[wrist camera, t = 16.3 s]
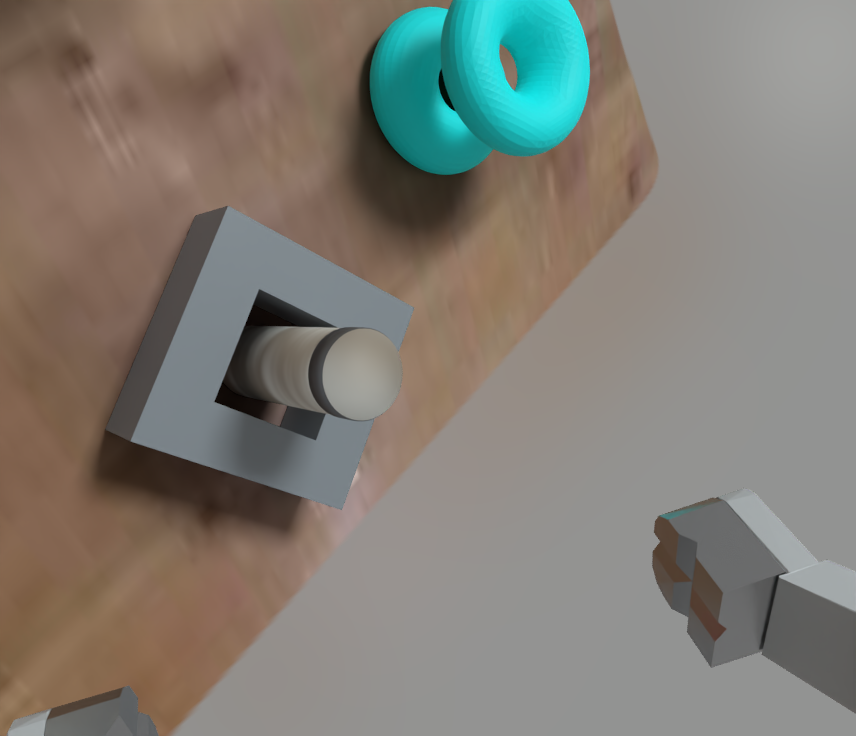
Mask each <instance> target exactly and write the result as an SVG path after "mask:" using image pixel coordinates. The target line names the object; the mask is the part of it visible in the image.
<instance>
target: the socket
mask: <svg viewBox="0 0 856 736" xmlns="http://www.w3.org/2000/svg"><path fill="white" fill-rule="evenodd" d="M253 305H255V306H257V307H259V308H261V309H263V310H266V311H268V312H270V313H272V314H274V315H276V316H278V317H280V318H282V319H284V320H287V321H289V322H291V323H293V324H295V325H297V326H299V327H325V328H344V327H365V328H372V329H375V330H377V331H380V332H381V333H383V334H384V335H386V336H387V337H388V338H389V339H390V340H391V341H392V343H393V344H394V345H395V347H396V349H397V351H398V352H399V349H400V346H401V343H402V341H403V338H404V335H405V332H406V330H407V327H408V324H409V321H410V318H411V316H412V313H413V310H414V307H412V306H410V305H408V304H406V303H405V302H403V301H401V300H399V299H397V298H396V297H394V296H392V295H390V294H388V293H386V292H385V291H383V290H381V289H379V288H377V287H375V286H374V285H372V284H370V283H368V282H366V281H364V280H363V279H361V278H359V277H357V276H355V275H354V274H352V273H350V272H348V271H346V270H344V269H343V268H341V267H339V266H337V265H335V264H333V263H332V262H330V261H328V260H326V259H324V258H322V257H321V256H319V255H317V254H315V253H313V252H312V251H310V250H308V249H306V248H304V247H302V246H301V245H299V244H297V243H295V242H293V241H291V240H290V239H288V238H286V237H284V236H282V235H280V234H279V233H277V232H275V231H273V230H271V229H270V228H268V227H266V226H264V225H262V224H260V223H259V222H257V221H255V220H253V219H251V218H249V217H248V216H246V215H244V214H242V213H240V212H238V211H237V210H235V209H233V208H231V207H229V206H226V207H223V208H219V209H216V210H213V211H209V212H206V213H203V214H199V215H196V216H195V218H194V220H193V223H192V225H191V228H190V230H189V232H188V235H187V237H186V239H185V242H184V244H183V247H182V249H181V251H180V254H179V256H178V258H177V261H176V263H175V265H174V268H173V270H172V273H171V275H170V277H169V280H168V282H167V284H166V287H165V289H164V292H163V294H162V296H161V299H160V301H159V303H158V306H157V308H156V310H155V313H154V315H153V318H152V320H151V322H150V325H149V327H148V329H147V332H146V334H145V337H144V339H143V341H142V344H141V346H140V348H139V351H138V353H137V355H136V358H135V360H134V363H133V365H132V367H131V370H130V372H129V374H128V377H127V379H126V382H125V384H124V386H123V389H122V391H121V393H120V396H119V398H118V400H117V403H116V405H115V408H114V410H113V412H112V415H111V417H110V419H109V422H108V424H107V426H106V429H105V430H107V431H109V432H111V433H114V434H116V435H118V436H120V437H122V438H124V439H126V440H128V441H131V442H134V443H137V444H140V445H143V446H146V447H149V448H152V449H155V450H158V451H162V452H165V453H168V454H171V455H174V456H177V457H180V458H183V459H186V460H189V461H192V462H195V463H199V464H202V465H205V466H208V467H211V468H214V469H217V470H220V471H223V472H226V473H229V474H232V475H236V476H239V477H242V478H245V479H248V480H251V481H254V482H257V483H260V484H263V485H266V486H269V487H273V488H276V489H279V490H282V491H285V492H288V493H291V494H294V495H297V496H300V497H303V498H306V499H310V500H313V501H316V502H319V503H322V504H325V505H328V506H331V507H334V508H337V509H340V510H342V508H343V505H344V503H345V500H346V497H347V494H348V491H349V489H350V486H351V483H352V480H353V478H354V475H355V472H356V469H357V466H358V464H359V461H360V458H361V455H362V452H363V450H364V447H365V444H366V441H367V438H368V436H369V433H370V430H371V427H372V424H373V422H374V419H375V418H374V419H372V420H368V421H352V420H347V419H343V418H338V417H335V416H332V415H329V414H325V413H320V412H315V411H311V410H306V409H301V408H296V407H292V406H288V407H287V410H286V413H285V415H284V418H283V421H282V423H281V426H280V427H279V426H276V425H274V424H271V423H268V422H266V421H263V420H260V419H258V418H255V417H252V416H250V415H247V414H245V413H242V412H239V411H237V410H234V409H231V408H229V407H226V406H223V405H221V404H218V403H216V402H214V401H215V399H216V396H217V394H218V391H219V388H220V386H221V383H222V381H223V378H224V376H225V373H226V371H227V368H228V366H229V363H230V361H231V358H232V356H233V353H234V351H235V348H236V346H237V343H238V341H239V338H240V336H241V333H242V331H243V328H244V326H245V323H246V321H247V318H248V316H249V313H250V311H251V308H252V306H253Z"/></svg>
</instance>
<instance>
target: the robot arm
mask: <svg viewBox="0 0 856 736" xmlns="http://www.w3.org/2000/svg"><path fill="white" fill-rule="evenodd" d="M654 533H655V535H656V536H657V537H658V539H659V540H660V543H659V544H658V545H657V547H656V548H655V550H654V551H653V561H652V564H653V565H652V566H653V570H654V574H655V578H656V581H657V584H658V586H659V588H660V590H661V592H662V594H663V596H664V597H665V599H666V601H667V602H668V604H669V605H670V607H671V609H673V610H675V611H677V612H679V613H681V614H683V615H685V616H687V617H688V627H687V633H688V634H689V635H690V637H691V639H692V640H693V642H694V643H695V645H696V646H697V647H698V649H699V650H700V652H701V653H702V655H703V656H704V658H705V659H706V661H707V662H708V663H709V665H710V667H711V668H712V667H715V666H718V665H721V664H724V663H727V662H730V661H733V660H737V659H739V658H743V657H746V656H749V655H752V654H755V653H758V652H761V651H762V655H763V656H765V657H767V658H768V659H770V660H771V661H773V662H775V663H776V664H778V665H779V666H781V667H783V668H784V669H786V670H787V671H789V672H790V673H792V674H794V675H795V676H797V677H799V678H800V679H802V680H803V681H805V682H806V683H808V684H809V685H811V686H813V687H814V688H816V689H817V690H819V691H821V692H822V693H824V694H825V695H827V696H829V697H830V698H832V699H833V700H835V701H837V702H838V703H840V704H841V705H843V706H845V707H846V708H848V709H849V710H851V711H852V712H854V713H856V572H855V571H853V570H851V569H848V568H846V567H844V566H841V565H839V564H836V563H834V562H832V561H829V560H825V561H822V562H818V561H817V560H816V558H815V557H814V556H813V555H812V554H811V553H810V552H809V551H808V550H807V549H806V548H805V547H804V545H803V544H802V543H801V542H800V541H799V540H798V539H797V538H796V537H795V536H794V535H793V534H792V533H791V531H790V530H789V529H788V528H787V527H786V526H785V525H784V524H783V523H782V522H781V521H780V520H779V519H778V517H777V516H776V515H775V514H774V513H773V512H772V511H771V510H770V509H769V508H768V507H767V506H766V505H765V503H763V501H762V500H761V499H760V498H759V497H758V496H757V495H756V494H755V493H754V492H753V491H751V490H749V489H747V488H745V489H741V490H737V491H734V492H731V493H728V494H725V495H722V496H719V497H717V498H710V499H708V500H705V501H701V502H698V503H695V504H692V505H689V506H686V507H683V508H680V509H678V510H674V511H671V512H668V513H665V514H663V515H660V516H658V518H657V519H656V521H655V527H654ZM7 736H158V733H157V730H156V727H155V725H154V723H153V721H152V720H151V718H150V716H149V715H146V714H143V713H140V712H138V698H137V696H136V695H135V693H134V692H133V691H132V689H131V688H130V686H126V687H123V688H119V689H116V690H112V691H109V692H106V693H102V694H99V695H95V696H92V697H89V698H85V699H82V700H78V701H75V702H72V703H68V704H65V705H61V706H58V707H55V708H51V709H48V710H44V711H41V712H38V713H35V714H32V715H28V716H25V717H22V718H19V719H16V720H14V721H13V723H12V725H11V727H10V729H9V731H8V733H7Z"/></svg>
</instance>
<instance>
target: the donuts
mask: <svg viewBox="0 0 856 736" xmlns="http://www.w3.org/2000/svg"><path fill="white" fill-rule="evenodd" d="M500 44H502V45H503V46H504V47H506V48H507V50H508V51H509V52H510V53H511V55H512V57H513V59H514V61H515V64H516V68H517V76H518V78H517V85H516V89H515V90H513V89H512V88H511V87H510V85H509V84H508V82H507V81H506V78H505V74H504V70H503V67H502V64H501V62H500V58H499V45H500ZM441 68H442V74H443V79H444V83H445V86H446V90H447V92H448V95H449V98H450V100H451V102H452V105H453V107H454V109H455V110H456V111H454V110H452V109H450V107H449V106H448V105H447V104H446V103H445V101H444V100H443V98H442V96H441V93H440V89H439V82H438V79H439V73H440V70H441ZM589 79H590V65H589V54H588V47H587V43H586V39H585V35H584V32H583V29H582V26H581V23H580V21H579V19H578V17H577V15H576V12H575V11H574V9H573V7H572V5H571V4H570V2H569V1H568V0H453V1H452V3H451V5H450V7H449V9H444V8H439V7H425V8H419V9H415V10H412V11H410V12H408V13H406V14H404V15H402V16H401V17H399V18H398V19H396V20H395V21H394V22H393V23H392V24H391V25H390V26H389V27H388V28H387V30H386V31H385V32H384V34H383V35H382V37H381V38H380V40H379V42H378V44H377V46H376V49H375V52H374V55H373V59H372V63H371V69H370V95H371V101H372V106H373V110H374V113H375V116H376V119H377V122H378V124H379V126H380V128H381V130H382V132H383V134H384V136H385V137H386V139H387V140H388V142H389V143H390V144H391V146H392V147H393V148H394V149H395V150H396V151H397V153H398V154H400V155H401V156H402V157H403V158H404V159H405V160H407V161H408V162H409V163H411V164H412V165H414V166H415V167H417V168H419V169H421V170H424V171H426V172H430V173H434V174H440V175H452V174H457V173H462V172H465V171H467V170H469V169H471V168H473V167H475V166H476V165H478V164H479V163H481V162H482V161H483V160H484V159H485V158H486V157H487V156H488V155H489V154H490V153H491V151H492V150H493V149H495V150H497V151H499V152H501V153H504V154H508V155H513V156H533V155H537V154H541V153H544V152H546V151H548V150H550V149H552V148H553V147H555V146H557V145H558V144H559V143H561V142H562V141H563V140H564V139H565V138H566V137H567V136H568V135H569V133H570V132H571V131H572V130H573V128H574V127H575V125H576V124H577V122H578V120H579V118H580V116H581V114H582V112H583V109H584V106H585V102H586V99H587V94H588V87H589Z"/></svg>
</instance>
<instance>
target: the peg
mask: <svg viewBox="0 0 856 736" xmlns="http://www.w3.org/2000/svg"><path fill="white" fill-rule="evenodd" d="M402 374H403V373H402V362H401V359H400V355H399V353H398V351H397V349H396V347H395V345H394V344H393V343H392V341H391V340H390V339H389V338H388V337H387V336H386V335H384V334H383V333H381V332H380V331H377V330H375V329H372V328H365V327H344V328H325V327H287V326H244V328H243V331H242V333H241V336H240V338H239V341H238V343H237V346H236V348H235V351H234V353H233V356H232V358H231V361H230V363H229V366H228V368H227V371H226V373H225V376H224V378H223V382H224V384H225V385H226V386H227V387H228V388H229V389H230V390H231V391H233V392H234V393H236V394H238V395H241V396H245V397H249V398H254V399H259V400H264V401H268V402H273V403H278V404H282V405H287V406H292V407H296V408H301V409H306V410H311V411H315V412H320V413H325V414H329V415H332V416H335V417H338V418H343V419H347V420H352V421H368V420H372V419H374V418H376V417H378V416H380V415H382V414H383V413H384V412H385V411H387V410H388V408H389V407H390V406H391V405H392V404H393V402H394V401H395V399H396V397H397V395H398V393H399V391H400V387H401V383H402Z"/></svg>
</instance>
